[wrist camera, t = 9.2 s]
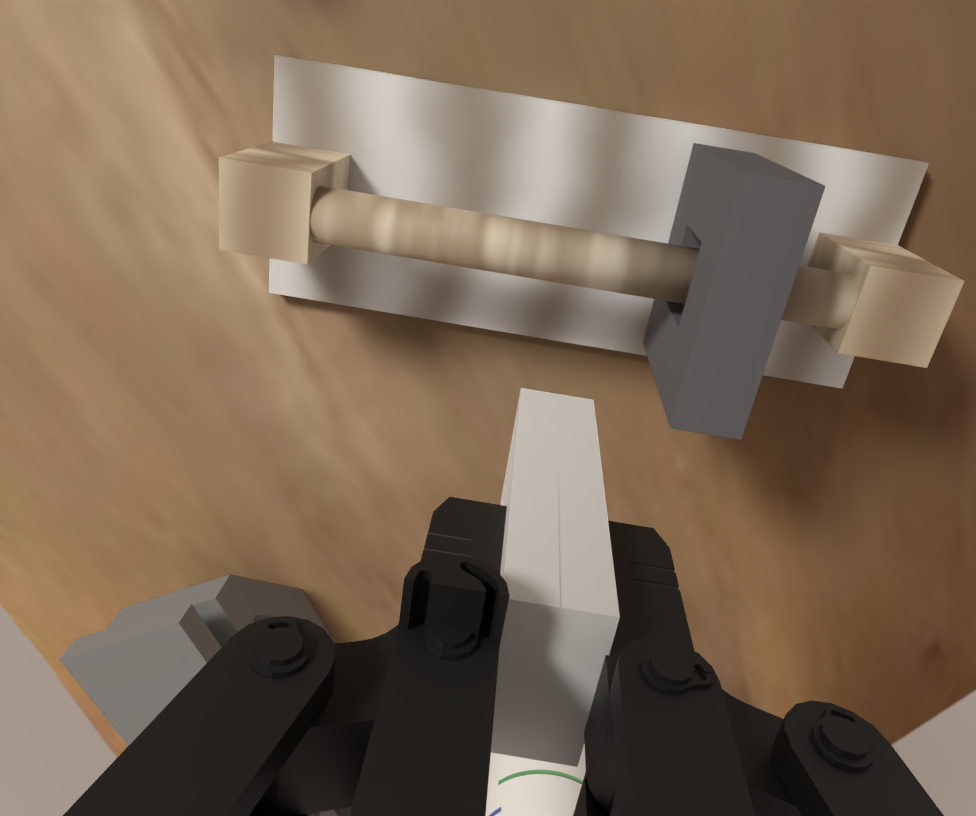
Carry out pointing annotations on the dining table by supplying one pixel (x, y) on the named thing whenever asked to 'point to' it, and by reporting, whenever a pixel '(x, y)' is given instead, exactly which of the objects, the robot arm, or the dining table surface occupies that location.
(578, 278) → the rail
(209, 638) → the grey grooved block
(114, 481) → the dining table surface
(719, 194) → the collar
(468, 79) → the dining table surface
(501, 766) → the cylindrical container
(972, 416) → the dining table surface
